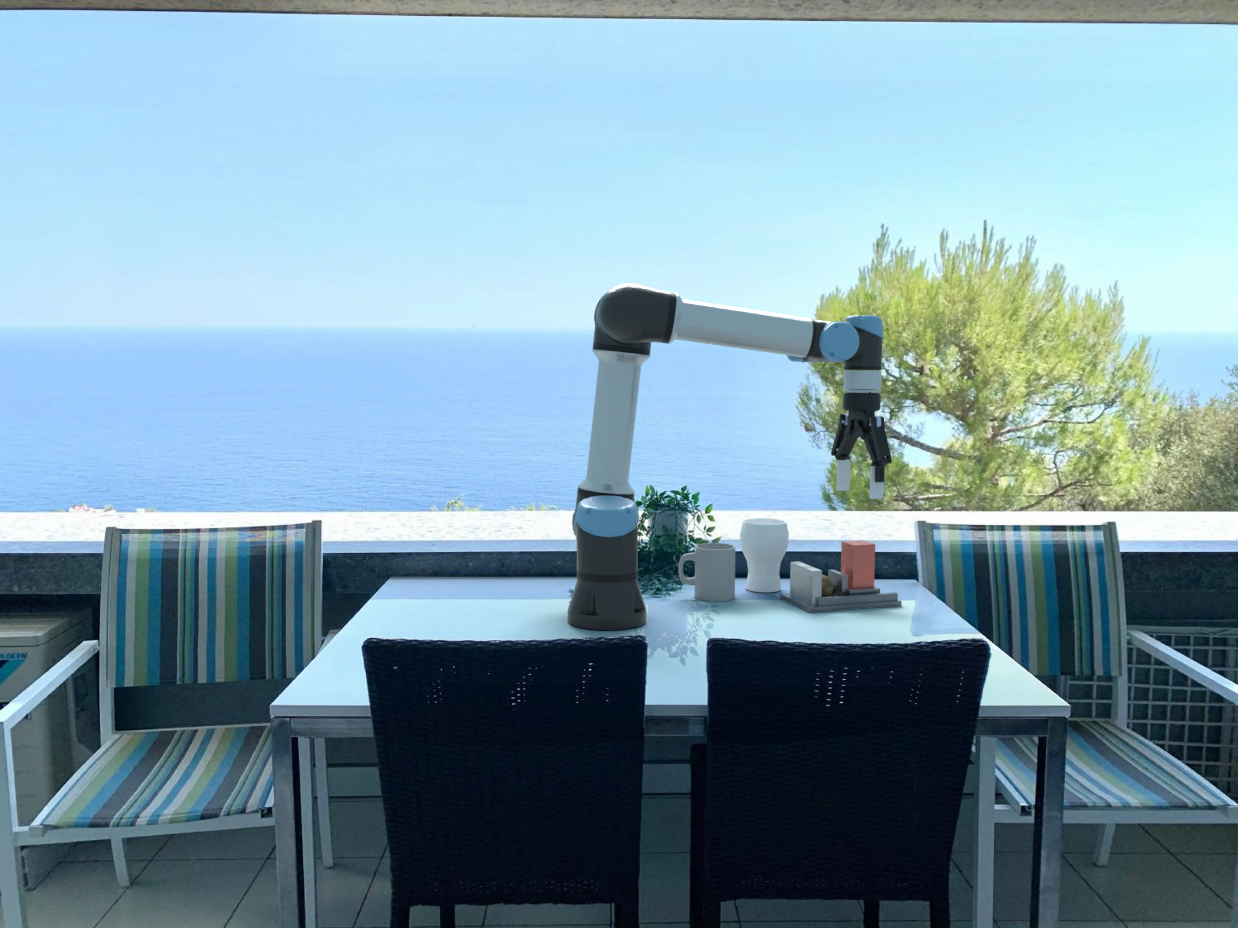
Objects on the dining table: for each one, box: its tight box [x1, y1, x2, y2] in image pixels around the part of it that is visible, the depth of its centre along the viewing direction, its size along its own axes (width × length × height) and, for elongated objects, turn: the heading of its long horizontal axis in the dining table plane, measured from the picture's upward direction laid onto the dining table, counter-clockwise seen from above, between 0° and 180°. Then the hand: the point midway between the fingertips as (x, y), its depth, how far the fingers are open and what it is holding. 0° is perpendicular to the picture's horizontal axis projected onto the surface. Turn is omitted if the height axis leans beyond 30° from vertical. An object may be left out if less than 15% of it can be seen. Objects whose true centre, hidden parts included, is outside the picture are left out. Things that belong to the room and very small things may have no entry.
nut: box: [821, 574, 833, 597], centre depth 212 cm, size 5×5×5 cm
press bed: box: [779, 561, 903, 613], centre depth 213 cm, size 21×13×8 cm, turn 107°
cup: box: [739, 517, 790, 593], centre depth 225 cm, size 11×11×15 cm
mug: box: [677, 542, 736, 603], centre depth 217 cm, size 12×8×11 cm
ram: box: [827, 539, 881, 596], centre depth 213 cm, size 8×8×11 cm
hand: (859, 494), depth 212 cm, fingers open, 13 cm apart
